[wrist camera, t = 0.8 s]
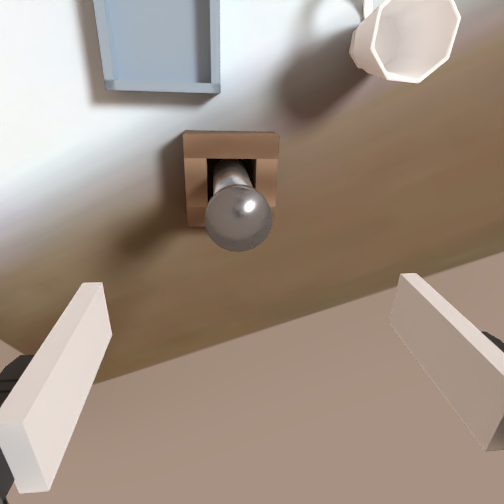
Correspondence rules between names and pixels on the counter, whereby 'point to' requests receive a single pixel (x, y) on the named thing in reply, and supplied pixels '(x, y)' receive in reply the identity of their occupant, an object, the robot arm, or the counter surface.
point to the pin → (236, 209)
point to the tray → (160, 44)
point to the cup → (404, 38)
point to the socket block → (227, 147)
